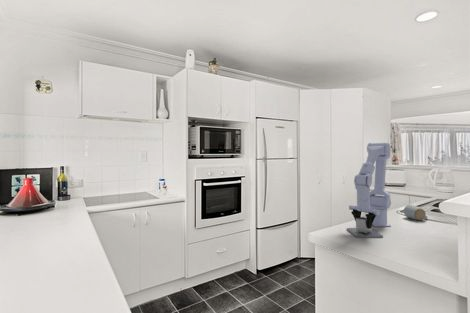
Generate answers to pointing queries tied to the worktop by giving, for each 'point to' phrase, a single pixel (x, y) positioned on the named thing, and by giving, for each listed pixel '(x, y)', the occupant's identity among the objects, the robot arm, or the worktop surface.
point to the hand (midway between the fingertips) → (363, 226)
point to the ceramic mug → (414, 212)
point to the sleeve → (362, 225)
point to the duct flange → (365, 235)
